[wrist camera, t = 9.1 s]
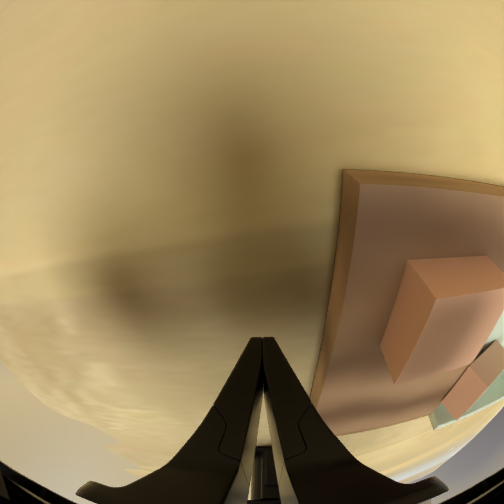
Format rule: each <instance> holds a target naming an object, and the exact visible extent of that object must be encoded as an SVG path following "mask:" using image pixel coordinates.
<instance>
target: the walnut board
mask: <svg viewBox="0 0 504 504" xmlns="http://www.w3.org/2000/svg"><path fill="white" fill-rule="evenodd" d="M470 256H487V257H488V258H489V259H490V260H491V261H492V262H493V263H494V264H495V265H496V266H497V267H498V268H499V269H500V270H501V271H502V272H503V273H504V187H502V186H496V185H491V184H485V183H480V182H473V181H467V180H460V179H453V178H446V177H438V176H429V175H420V174H409V173H398V172H385V171H369V170H348V169H343V183H342V197H341V209H340V220H339V231H338V240H337V249H336V257H335V265H334V272H333V280H332V287H331V293H330V300H329V306H328V312H327V318H326V323H325V329H324V334H323V340H322V345H321V350H320V355H319V360H318V364H317V369H316V374H315V378H314V382H313V387H312V391H311V395H310V400H311V402H312V403H311V404H313V405H314V406H315V408H316V410H317V411H318V413H319V414H320V416H321V417H322V419H323V420H324V422H325V423H326V424H327V426H328V427H329V428H330V430H331V431H332V432H333V433H334V435H335V436H340V435H346V434H352V433H358V432H363V431H368V430H373V429H378V428H383V427H387V426H391V425H395V424H399V423H403V422H406V421H410V420H414V419H417V418H420V417H424V416H427V415H430V414H432V413H433V412H434V411H435V409H436V408H437V407H438V406H439V405H440V404H441V401H442V400H443V399H444V398H445V397H446V396H447V394H448V393H449V392H450V391H451V389H452V388H453V387H454V386H455V384H456V383H457V382H458V380H459V379H460V378H461V376H462V375H463V374H464V372H465V371H466V370H467V368H468V367H469V366H470V365H471V364H469V365H466V366H463V367H460V368H457V369H453V370H450V371H447V372H443V373H440V374H436V375H433V376H429V377H425V378H421V379H417V380H413V381H409V382H404V383H400V384H395V385H394V383H393V380H392V377H391V374H390V372H389V369H388V366H387V363H386V361H385V358H384V355H383V353H382V350H381V348H380V343H381V340H382V338H383V335H384V332H385V330H386V327H387V324H388V321H389V319H390V316H391V313H392V310H393V307H394V304H395V301H396V298H397V294H398V291H399V288H400V285H401V281H402V278H403V274H404V270H405V267H406V263H407V260H415V259H435V258H453V257H470Z"/></svg>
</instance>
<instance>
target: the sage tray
mask: <svg viewBox="0 0 504 504" xmlns="http://www.w3.org/2000/svg"><path fill="white" fill-rule="evenodd" d="M495 340H497V341H498V342H499V343H500V344H501V345H502V346H503V347H504V310H503V312H502V314H501V316H500V318H499V320H498V322H497V323H496V325H495V327H494V329H493V330H492V332H491V334H490V336H489V337H488V339H487V341H486V342H485V344H484V345H483V347H482V349H481V350H480V352H479V353H478V355H477V356H476V358H475V359H474V361H475V360H476V359H477V358H478V357H479V356H480V355H481V354H482V353H483V352H484V351H485V350H486V349H487V348H488V347H489V346H490V345H491V344H492V343H493V342H494V341H495ZM474 361H473V362H474ZM473 362H472V363H473ZM502 399H504V370H503V371H502V372H501V373H500V375H499V376H498V377H497V378H496V380H495V381H494V382H493V383H492V385H491V386H490V387H489V388H488V389H487V390H486V392H485V393H484V394H483V395H482V396H481V397H480V398H479V399H478V400H477V401H476V402H475V403H474V404H473V405H472V406H471V407H470V408H469V409H468V410H467V411H466V412H465V413H464V414H463V415H462V416H461V417H460V418H459V419H458V420H457V421H459V420H461V419H464V418H466V417H468V416H470V415H473V414H475V413H477V412H479V411H481V410H483V409H485V408H487V407H489V406H491V405H493V404H495V403H497V402H499V401H500V400H502ZM429 418H430V421H431V424H432V427H433V430H436V429H439V428H441V427H444V426H447V425H449V424H452V423H454V422H457V421H456V420H455V419H454V418H453V416H452V415H451V414H450V413H449V411H448V410H447V409H446V408H445V406H444V405H443V404H442V403H441V404H440V405H439V406H438V407H437V408H436V409H435V411H434V412H433V413H432V414H430V415H429Z"/></svg>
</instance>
